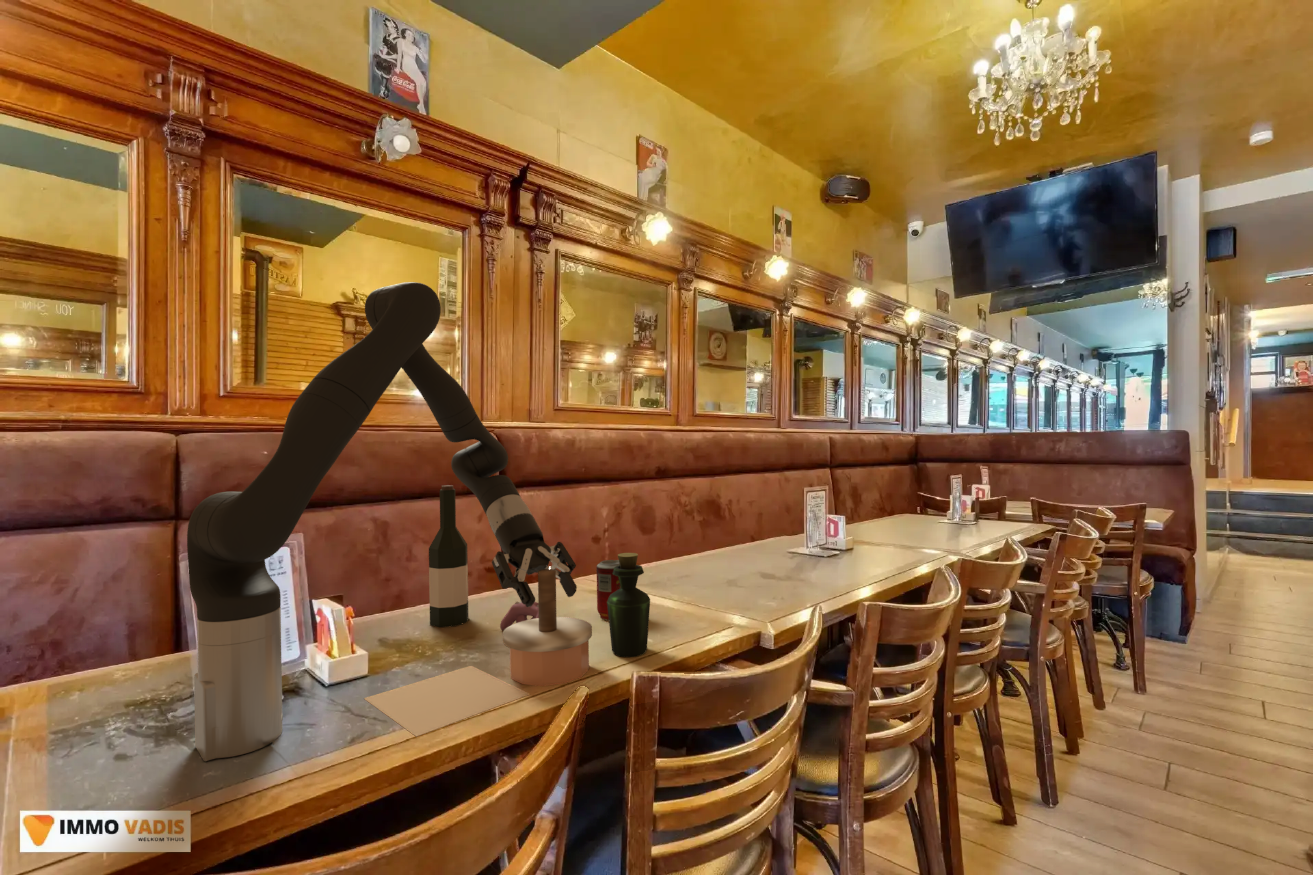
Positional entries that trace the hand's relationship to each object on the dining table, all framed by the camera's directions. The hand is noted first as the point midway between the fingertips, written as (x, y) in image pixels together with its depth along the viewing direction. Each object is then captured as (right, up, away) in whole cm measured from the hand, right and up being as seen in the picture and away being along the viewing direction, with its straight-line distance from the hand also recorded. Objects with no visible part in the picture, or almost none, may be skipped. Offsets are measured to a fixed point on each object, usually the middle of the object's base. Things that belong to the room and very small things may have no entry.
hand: (553, 598), depth 103 cm
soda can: (+8, -13, +33) cm, 36 cm away
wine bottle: (-28, -14, +31) cm, 44 cm away
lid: (-1, -7, +1) cm, 7 cm away
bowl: (-1, -13, +1) cm, 13 cm away
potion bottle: (+13, -13, +10) cm, 21 cm away
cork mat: (-15, -13, -9) cm, 22 cm away
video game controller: (-10, -13, +24) cm, 30 cm away
